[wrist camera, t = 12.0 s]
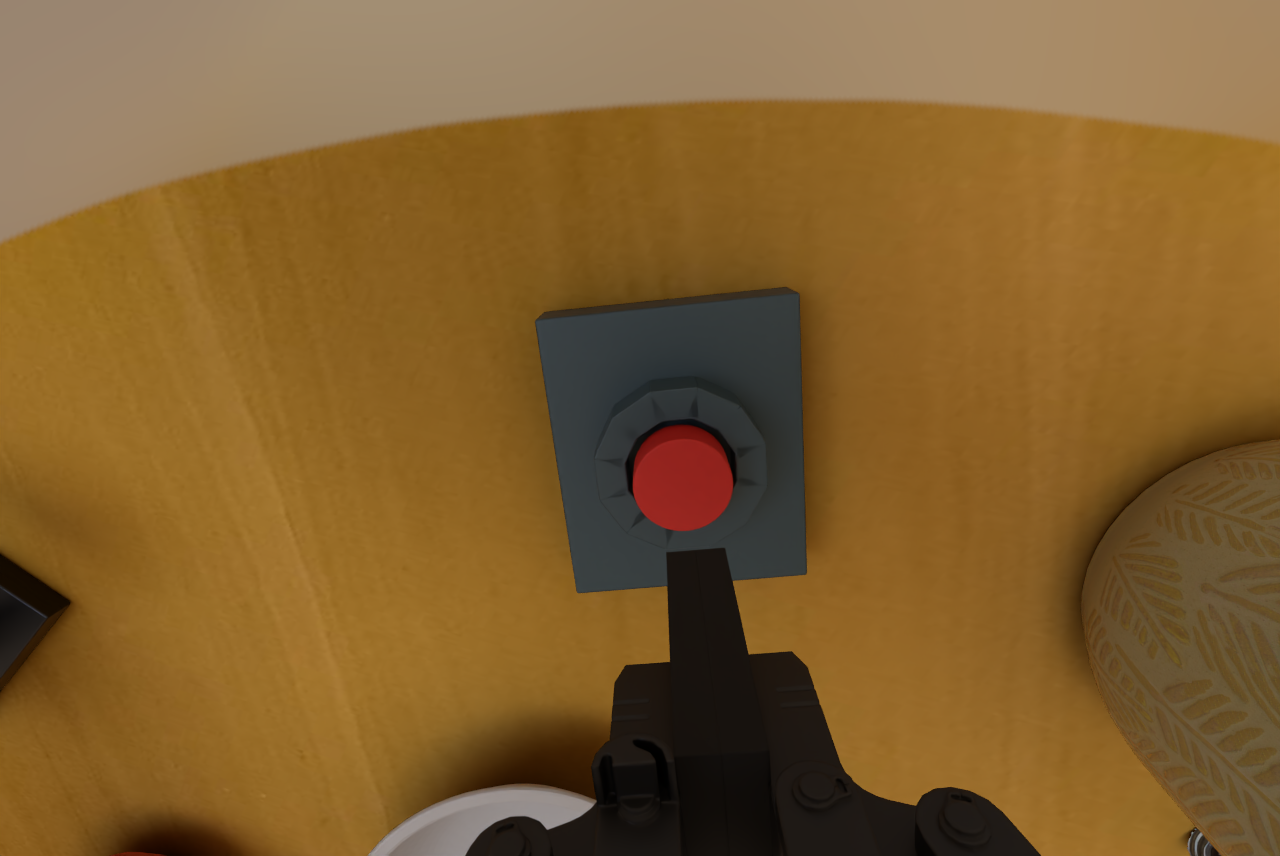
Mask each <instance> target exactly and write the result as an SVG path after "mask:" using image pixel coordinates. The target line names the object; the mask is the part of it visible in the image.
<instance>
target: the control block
mask: <svg viewBox="0 0 1280 856" xmlns="http://www.w3.org/2000/svg"><path fill="white" fill-rule="evenodd" d="M535 324H536V331H537V337H538V344H539V350H540V357H541V363H542V370H543V376H544V383H545V389H546V396H547V402H548V409H549V415H550V422H551V428H552V435H553V441H554V448H555V454H556V461H557V467H558V474H559V480H560V487H561V493H562V500H563V506H564V513H565V519H566V526H567V532H568V539H569V545H570V552H571V558H572V565H573V571H574V578H575V584H576V590H577V593H587V592H599V591H611V590H624V589H636V588H648V587H661V586H667V560H666V552H676V551H688V550H700V549H713V548H725V549H726V554H727V559H728V563H729V568H730V572H731V577H732V581H734V580H747V579H759V578H771V577H784V576H796V575H806V573H807V558H806V520H805V483H804V445H803V407H802V369H801V331H800V295H799V293H797V292H795V291H793V290H791V289H789V288H787V287H782V288H773V289H763V290H753V291H743V292H734V293H724V294H714V295H705V296H695V297H685V298H675V299H666V300H656V301H646V302H637V303H627V304H617V305H608V306H598V307H588V308H578V309H569V310H559V311H549V312H544V313H543V314H542V315H541V316H540V317H539V318H537V319H536V320H535ZM682 424H684V425H692V426H696V427H699V428H701V429H703V430H705V431H707V432H709V433H710V434H712V435H713V436H714V437H715V438H716V439H717V440H718V441H719V442H720V444H721V445H722V447H723V449H724V451H725V453H726V456H727V459H728V462H729V465H730V469H731V472H732V476H733V492H732V496H731V499H730V501H729V504H728V506H727V507H726V509H725V510H724V511H723V513H722V514H721V515H720V516H719V517H718V518H717V519H716V520H714V521H713V522H711V523H710V524H708V525H706V526H704V527H701V528H699V529H695V530H690V531H675V530H670V529H666V528H663V527H661V526H659V525H657V524H655V523H654V522H652V521H651V520H650V519H648V518H647V517H646V516H645V515H644V514H643V513H642V511H641V510H640V508H639V507H638V505H637V503H636V500H635V497H634V493H633V472H634V462H635V457H636V455H637V452H638V450H639V448H640V446H641V445H642V444H643V442H644V441H645V440H646V439H647V438H648V437H649V436H650V435H652V434H653V433H654V432H656V431H658V430H660V429H662V428H664V427H668V426H672V425H682Z"/></svg>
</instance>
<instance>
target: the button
mask: <svg viewBox="0 0 1280 856" xmlns="http://www.w3.org/2000/svg"><path fill="white" fill-rule="evenodd" d="M732 492H733V476H732V472H731V469H730V465H729V462H728V459H727V456H726V453H725V451H724V449H723V447H722V445H721V444H720V442H719V441H718V440H717V439H716V438H715V437H714V436H713V435H712V434H710V433H709V432H707V431H705V430H703V429H701V428H699V427H696V426H692V425H684V424H682V425H672V426H668V427H664V428H662V429H660V430H658V431H656V432H654V433H653V434H652V435H650V436H649V437H648V438H647V439H646V440H645V441H644V442H643V444H642V445H641V446H640V448H639V450H638V452H637V455H636V457H635V462H634V472H633V493H634V497H635V500H636V503H637V505H638V507H639V508H640V510H641V511H642V513H643V514H644V515H645V516H646V517H647V518H648V519H650V520H651V521H652V522H654V523H655V524H657V525H659V526H661V527H663V528H666V529H670V530H675V531H690V530H695V529H699V528H701V527H704V526H706V525H708V524H710V523H711V522H713V521H714V520H716V519H717V518H718V517H719V516H720V515H721V514H722V513H723V511H724V510H725V509H726V507H727V506H728V504H729V501H730V499H731V496H732Z"/></svg>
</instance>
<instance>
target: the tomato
mask: <svg viewBox="0 0 1280 856" xmlns="http://www.w3.org/2000/svg"><path fill="white" fill-rule="evenodd" d="M110 856H166V855H162V854H154V853H143V852H124V853H119V854H114V855H110Z"/></svg>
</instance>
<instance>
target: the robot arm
mask: <svg viewBox="0 0 1280 856" xmlns="http://www.w3.org/2000/svg"><path fill="white" fill-rule="evenodd" d="M666 560H667V588H668V615H669V642H670V662H664V663H650V664H636V665H626V666H625V667H624V669H623V670H622V672H621V674H620V675H619V677H618V678H617V680H616V681H615V685H614V697H613V708H612V721H611V731H610V741H608V742H606V743H605V744H604V745H603V746H602V747H601V748H600V749H599V751H598V752H597V753H596V754H595V757H594V760H593V763H592V765H591V769H592V776H593V782H594V788H595V794H596V801H597V802H596V803H595V804H594V805H593V806H592V808H591V809H589V810H588V811H587V812H585V813H584V814H583V815H581V816H580V817H578V818H576V819H574V820H572V821H570V822H567V823H564V824H562V825H559V826H556V827H554V828H551V829H548V830H547V829H546V828H545V827H544V825H543V824H542V823H541V822H540V821H538V820H536V819H533V818H530V817H528V816H511V817H508V818H505V819H502V820H500V821H497V822H495V823H493V824H492V825H491V826H489V827H488V828H486V829H485V830H484V831H482V832H481V833H480V834H479V836H478V837H477V838H476V840H475V841H474V842H473V843H472V845H471V846H470V848H469V849H468V851H467V853H466V855H465V856H1041V855H1040V854H1039V853H1038V851H1037V850H1036V849H1035V848H1034V847H1033V846H1032V845H1031V844H1030V842H1029V841H1028V840H1027V839H1026V838H1025V837H1024V836H1023V835H1022V833H1021V832H1020V831H1019V830H1018V829H1017V828H1016V827H1015V826H1014V824H1013V823H1012V822H1011V821H1010V820H1009V819H1008V818H1007V817H1006V815H1005V814H1004V813H1003V812H1002V811H1000V810H999V809H998V808H997V807H996V806H995V805H993V804H992V803H991V802H990V801H989V800H987V799H985V798H983V797H981V796H979V795H977V794H975V793H973V792H971V791H968V790H963V789H958V788H953V787H947V788H937V789H933V790H931V791H930V792H928V793H926V794H924V795H922V797H921V799H920V800H919V802H918V804H917V805H916V806H914V805H909V804H905V803H900V802H896V801H891V800H887V799H884V798H881V797H878V796H875V795H873V794H871V793H869V792H868V791H866V790H864V789H862V788H861V787H860V786H858V785H857V784H856V783H855V782H853V780H852V778H851V777H850V776H849V775H848V774H846V772H845V771H844V769H843V767H842V765H841V763H840V760H839V757H838V754H837V752H836V749H835V746H834V743H833V740H832V737H831V734H830V731H829V728H828V725H827V723H826V720H825V717H824V714H823V711H822V708H821V705H820V704H819V699H818V696H817V694H816V691H815V689H814V685H813V682H812V679H811V676H810V673H809V670H808V668H807V666H806V665H805V664H804V663H803V662H802V661H801V660H800V659H799V658H798V657H797V656H796V655H795V654H794V653H793V652H792V651H791V652H777V653H764V654H750V655H748V650H747V645H746V641H745V636H744V632H743V627H742V623H741V618H740V613H739V609H738V604H737V600H736V595H735V591H734V586H733V581H732V577H731V572H730V568H729V563H728V559H727V554H726V549H725V548H713V549H700V550H688V551H676V552H666Z"/></svg>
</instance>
